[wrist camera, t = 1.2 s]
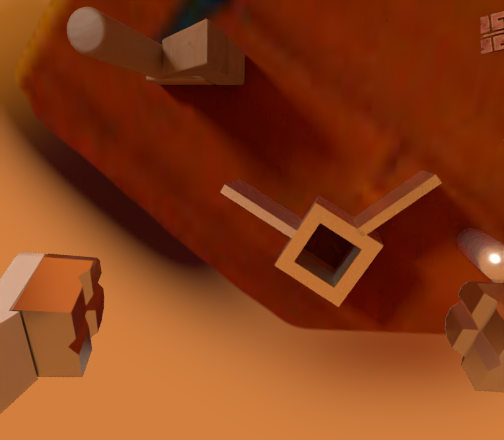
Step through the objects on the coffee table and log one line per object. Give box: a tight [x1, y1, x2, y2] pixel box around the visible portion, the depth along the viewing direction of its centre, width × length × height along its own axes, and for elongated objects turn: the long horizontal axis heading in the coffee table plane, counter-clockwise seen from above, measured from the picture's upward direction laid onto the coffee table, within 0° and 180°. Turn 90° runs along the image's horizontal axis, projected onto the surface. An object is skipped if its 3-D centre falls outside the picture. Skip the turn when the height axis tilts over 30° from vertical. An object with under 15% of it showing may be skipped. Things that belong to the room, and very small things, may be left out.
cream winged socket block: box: [220, 170, 442, 307], centre depth 45 cm, size 18×16×7 cm
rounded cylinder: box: [456, 228, 504, 283], centre depth 42 cm, size 3×3×10 cm
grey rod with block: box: [67, 7, 245, 85], centre depth 40 cm, size 4×11×18 cm, turn 88°
